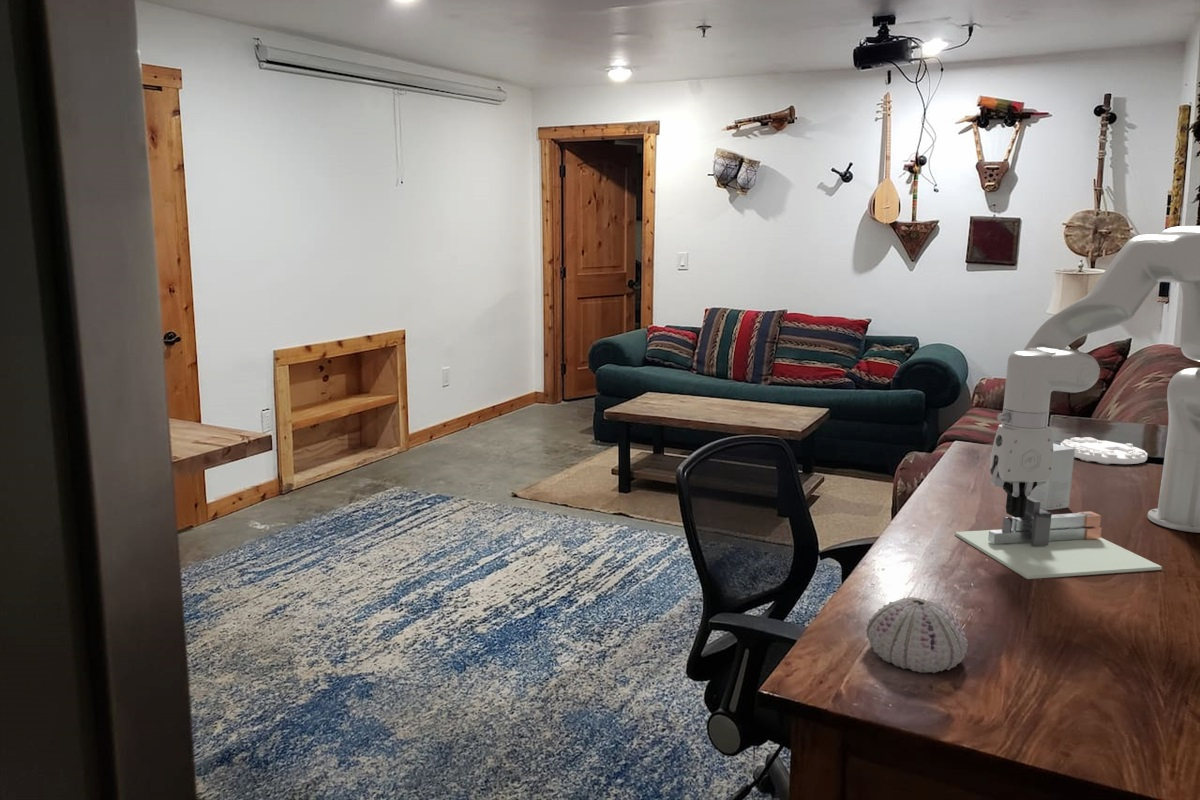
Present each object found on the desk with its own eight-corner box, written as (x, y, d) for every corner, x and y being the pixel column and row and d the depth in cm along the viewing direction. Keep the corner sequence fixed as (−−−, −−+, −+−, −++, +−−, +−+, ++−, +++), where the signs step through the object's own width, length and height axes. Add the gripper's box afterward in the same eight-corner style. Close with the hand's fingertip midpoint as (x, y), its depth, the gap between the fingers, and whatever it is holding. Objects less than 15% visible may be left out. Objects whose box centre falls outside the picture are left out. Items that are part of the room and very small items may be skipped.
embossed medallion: (1163, 467, 223) (1164, 456, 222) (1084, 466, 223) (1085, 455, 223) (1118, 447, 243) (1119, 437, 242) (1046, 446, 243) (1047, 436, 242)
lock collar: (1027, 534, 170) (1031, 493, 168) (1048, 545, 164) (1052, 503, 163) (1013, 534, 169) (1017, 494, 168) (1033, 545, 164) (1038, 503, 162)
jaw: (1090, 521, 170) (1091, 511, 170) (1100, 525, 168) (1101, 515, 168) (1008, 527, 167) (1009, 516, 167) (1017, 531, 164) (1018, 521, 164)
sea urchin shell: (980, 654, 124) (986, 600, 123) (944, 691, 114) (949, 633, 113) (889, 625, 133) (893, 575, 131) (848, 657, 123) (852, 603, 121)
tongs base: (1090, 538, 171) (1093, 510, 170) (1100, 542, 168) (1103, 515, 167) (986, 544, 167) (989, 516, 166) (994, 549, 164) (997, 521, 163)
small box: (1069, 508, 189) (1076, 448, 186) (1046, 511, 187) (1053, 451, 184) (1039, 497, 196) (1045, 440, 194) (1016, 500, 194) (1022, 442, 192)
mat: (1074, 527, 176) (1074, 525, 176) (1161, 569, 155) (1161, 566, 155) (954, 534, 172) (954, 532, 172) (1027, 579, 151) (1027, 575, 150)
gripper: (1000, 424, 157) (990, 524, 160) (1075, 422, 159) (1064, 519, 163) (975, 416, 164) (966, 510, 168) (1048, 413, 167) (1038, 507, 170)
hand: (1015, 515), depth 165 cm, fingers closed
